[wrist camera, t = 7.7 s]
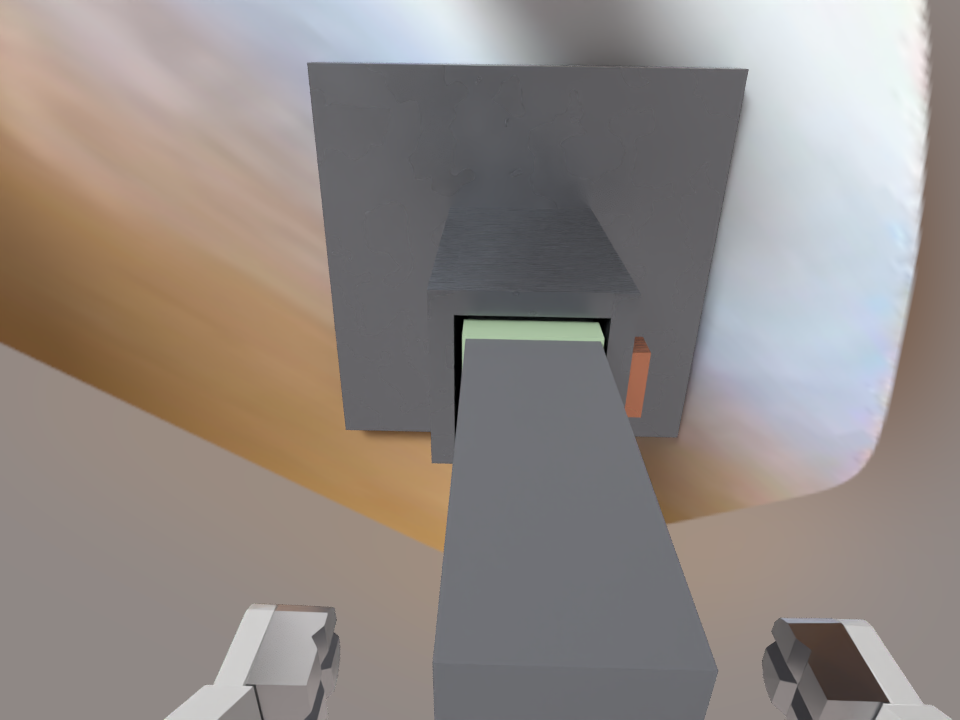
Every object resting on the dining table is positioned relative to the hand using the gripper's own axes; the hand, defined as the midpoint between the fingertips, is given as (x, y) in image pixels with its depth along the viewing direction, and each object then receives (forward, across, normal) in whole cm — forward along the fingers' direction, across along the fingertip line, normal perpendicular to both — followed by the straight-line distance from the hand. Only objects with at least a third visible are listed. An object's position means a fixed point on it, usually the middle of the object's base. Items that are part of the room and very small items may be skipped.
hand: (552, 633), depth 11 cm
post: (+14, 0, 0) cm, 14 cm away
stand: (+21, 0, 0) cm, 21 cm away
